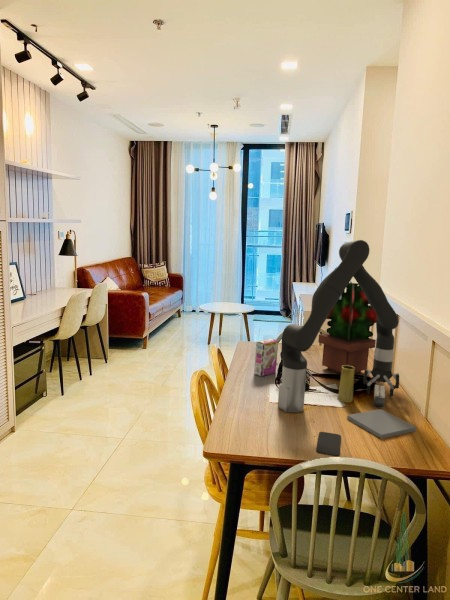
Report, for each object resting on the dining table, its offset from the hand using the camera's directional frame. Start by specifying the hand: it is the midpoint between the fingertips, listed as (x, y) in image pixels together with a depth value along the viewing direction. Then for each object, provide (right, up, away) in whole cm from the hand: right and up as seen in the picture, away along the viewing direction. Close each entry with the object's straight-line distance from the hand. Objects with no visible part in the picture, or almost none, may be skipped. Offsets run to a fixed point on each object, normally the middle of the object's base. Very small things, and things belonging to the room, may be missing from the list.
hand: (379, 395), depth 187 cm
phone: (-31, -8, -41) cm, 52 cm away
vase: (-15, -2, -1) cm, 15 cm away
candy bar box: (-46, +4, +27) cm, 54 cm away
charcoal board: (-8, -6, -24) cm, 26 cm away
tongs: (0, -2, 0) cm, 2 cm away
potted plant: (-5, +4, +37) cm, 38 cm away
